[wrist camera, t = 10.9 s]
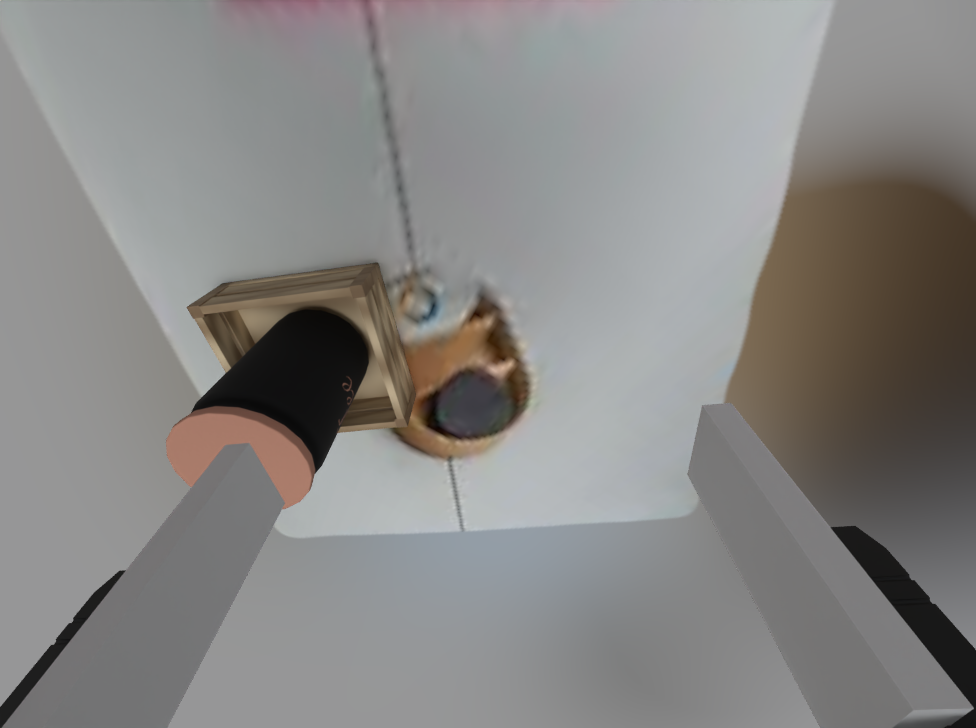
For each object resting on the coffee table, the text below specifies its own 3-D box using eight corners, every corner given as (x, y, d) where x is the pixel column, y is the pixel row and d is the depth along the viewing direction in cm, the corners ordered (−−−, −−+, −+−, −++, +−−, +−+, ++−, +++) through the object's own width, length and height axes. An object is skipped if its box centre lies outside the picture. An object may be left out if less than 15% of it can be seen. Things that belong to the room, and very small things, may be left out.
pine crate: (222, 283, 43) (186, 307, 38) (377, 262, 41) (361, 284, 36) (287, 407, 52) (264, 440, 47) (416, 394, 50) (407, 426, 45)
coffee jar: (334, 400, 50) (264, 529, 35) (257, 343, 46) (139, 462, 30) (391, 351, 46) (340, 472, 31) (312, 284, 42) (209, 387, 27)
